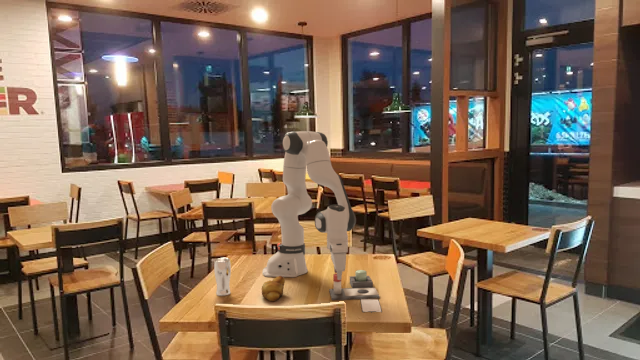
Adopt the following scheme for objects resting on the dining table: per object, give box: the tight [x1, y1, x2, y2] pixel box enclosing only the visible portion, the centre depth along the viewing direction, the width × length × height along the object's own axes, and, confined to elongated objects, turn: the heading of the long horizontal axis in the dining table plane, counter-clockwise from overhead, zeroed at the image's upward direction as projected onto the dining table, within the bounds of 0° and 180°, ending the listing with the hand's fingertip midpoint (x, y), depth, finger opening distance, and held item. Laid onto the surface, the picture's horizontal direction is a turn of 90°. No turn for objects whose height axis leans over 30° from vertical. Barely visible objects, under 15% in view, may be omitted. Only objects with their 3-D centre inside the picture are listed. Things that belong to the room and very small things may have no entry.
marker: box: [332, 273, 342, 294], centre depth 193 cm, size 3×3×8 cm
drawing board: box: [328, 286, 381, 301], centre depth 194 cm, size 20×11×1 cm, turn 95°
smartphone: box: [359, 298, 383, 314], centre depth 183 cm, size 8×1×16 cm
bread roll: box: [261, 276, 286, 302], centre depth 192 cm, size 13×10×8 cm
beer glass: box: [213, 257, 232, 297], centre depth 196 cm, size 7×7×15 cm
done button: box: [354, 269, 368, 282], centre depth 205 cm, size 5×5×4 cm
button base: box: [349, 275, 374, 288], centre depth 205 cm, size 9×9×3 cm
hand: (337, 275), depth 193 cm, fingers open, 8 cm apart
